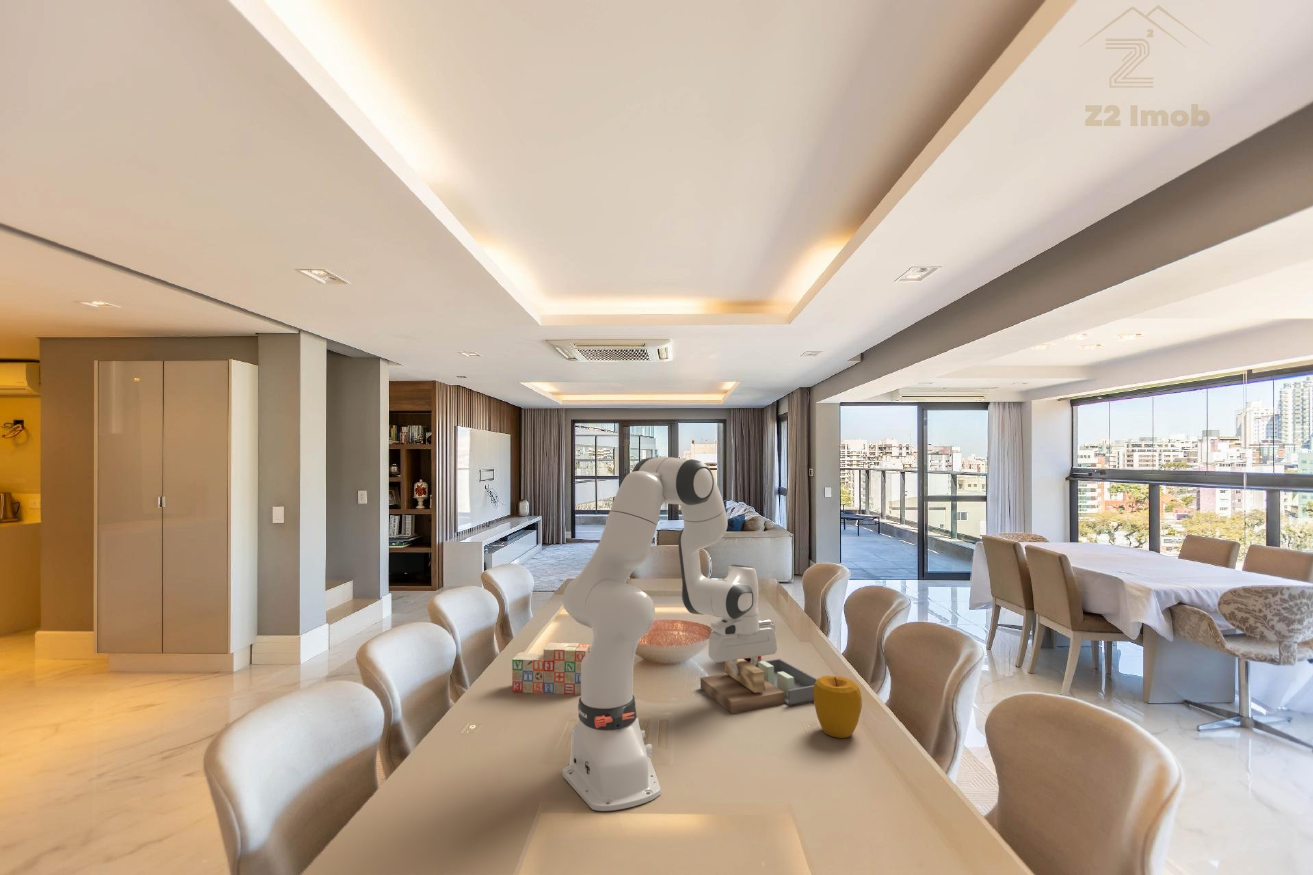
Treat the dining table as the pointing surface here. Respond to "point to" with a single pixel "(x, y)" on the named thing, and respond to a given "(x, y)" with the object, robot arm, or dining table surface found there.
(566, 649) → the stack of blocks
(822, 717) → the apple
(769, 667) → the tile
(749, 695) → the board
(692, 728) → the dining table surface
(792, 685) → the tile
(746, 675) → the wooden plank piece
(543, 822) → the dining table surface
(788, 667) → the tray
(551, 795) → the dining table surface
